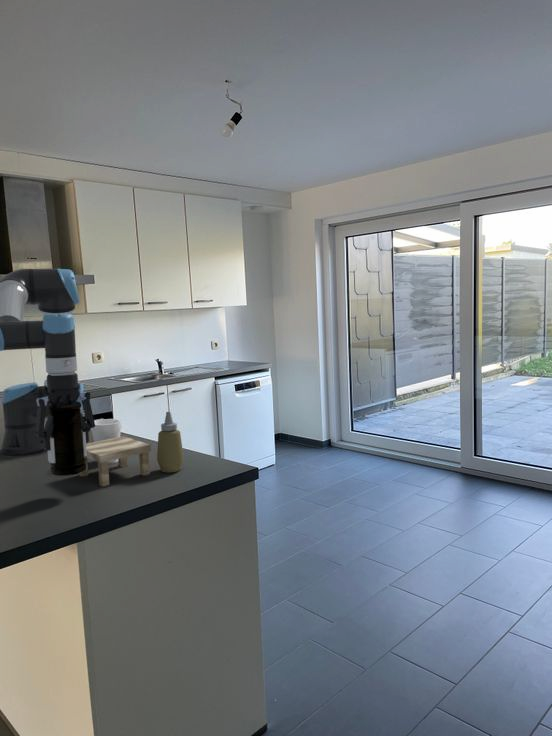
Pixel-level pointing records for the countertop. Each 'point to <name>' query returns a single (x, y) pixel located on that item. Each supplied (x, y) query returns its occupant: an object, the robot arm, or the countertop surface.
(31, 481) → the countertop surface
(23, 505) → the countertop surface
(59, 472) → the container
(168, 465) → the squeeze bottle
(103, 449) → the beige flat-topped legged fixture
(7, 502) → the countertop surface
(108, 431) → the foam cup
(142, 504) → the countertop surface
